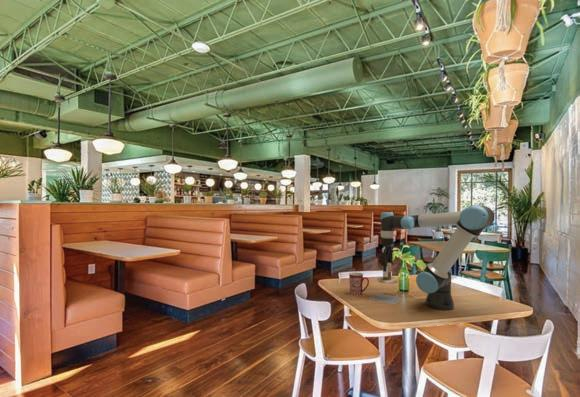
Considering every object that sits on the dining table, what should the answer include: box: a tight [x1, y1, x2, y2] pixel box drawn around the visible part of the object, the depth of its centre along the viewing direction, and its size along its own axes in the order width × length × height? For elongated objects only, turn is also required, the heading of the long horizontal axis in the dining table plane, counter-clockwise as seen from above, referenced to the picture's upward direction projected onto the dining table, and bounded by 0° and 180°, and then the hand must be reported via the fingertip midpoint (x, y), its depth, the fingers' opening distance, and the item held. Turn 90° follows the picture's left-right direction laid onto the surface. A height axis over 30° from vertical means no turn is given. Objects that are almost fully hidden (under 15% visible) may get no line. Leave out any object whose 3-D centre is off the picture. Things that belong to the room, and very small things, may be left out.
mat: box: [368, 292, 404, 305], centre depth 195 cm, size 16×16×1 cm
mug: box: [348, 271, 370, 297], centre depth 203 cm, size 13×9×14 cm
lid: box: [376, 262, 399, 285], centre depth 195 cm, size 12×12×11 cm
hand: (387, 275), depth 195 cm, fingers closed on lid, 5 cm apart
